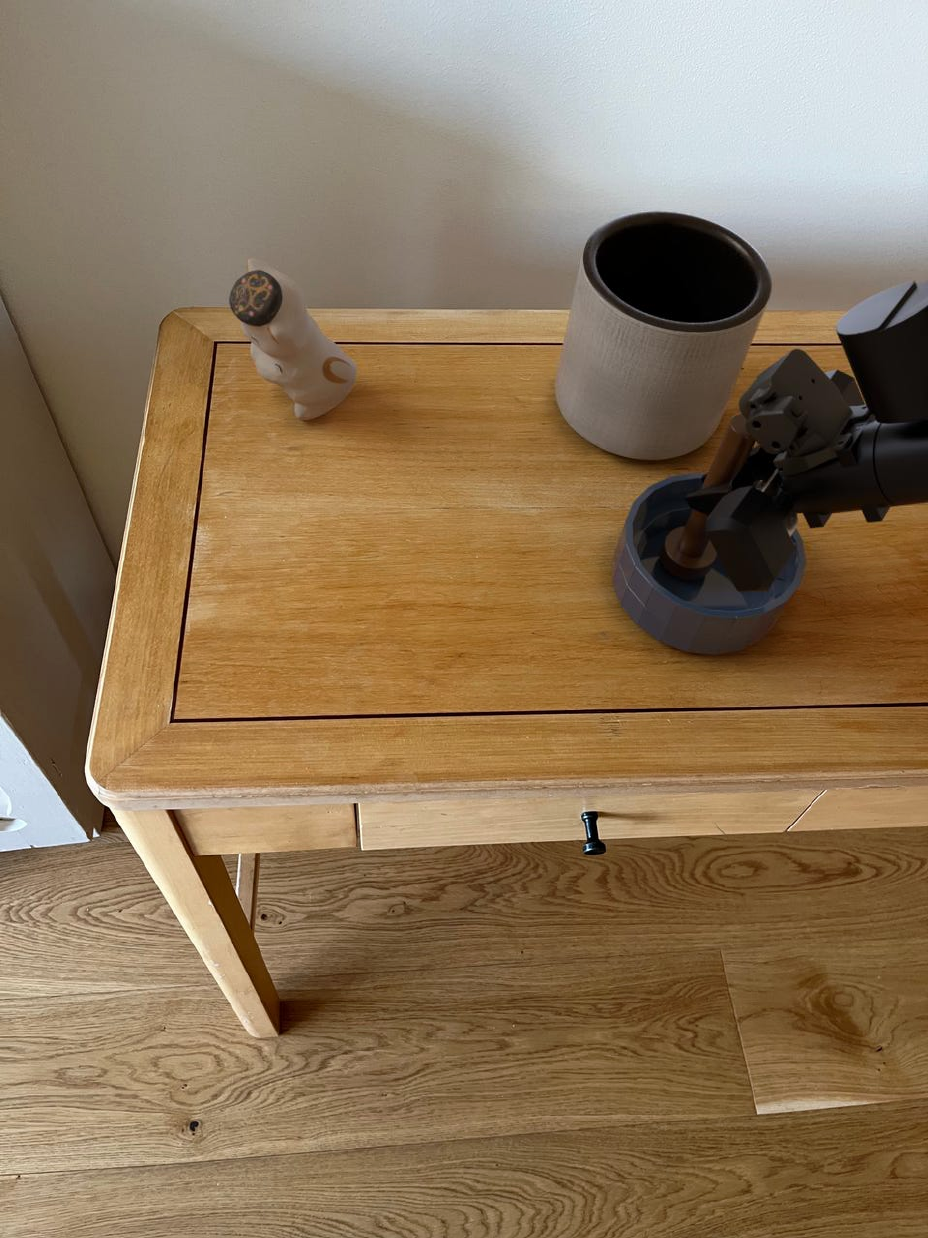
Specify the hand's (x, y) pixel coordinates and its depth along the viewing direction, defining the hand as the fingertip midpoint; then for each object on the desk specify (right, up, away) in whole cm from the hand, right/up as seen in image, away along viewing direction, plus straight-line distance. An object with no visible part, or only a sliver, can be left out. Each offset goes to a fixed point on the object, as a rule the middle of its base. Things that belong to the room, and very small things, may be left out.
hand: (696, 491), depth 71 cm
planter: (-1, +11, +18) cm, 21 cm away
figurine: (-33, +10, +15) cm, 37 cm away
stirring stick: (+1, -5, +6) cm, 8 cm away
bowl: (+1, -7, +6) cm, 10 cm away
